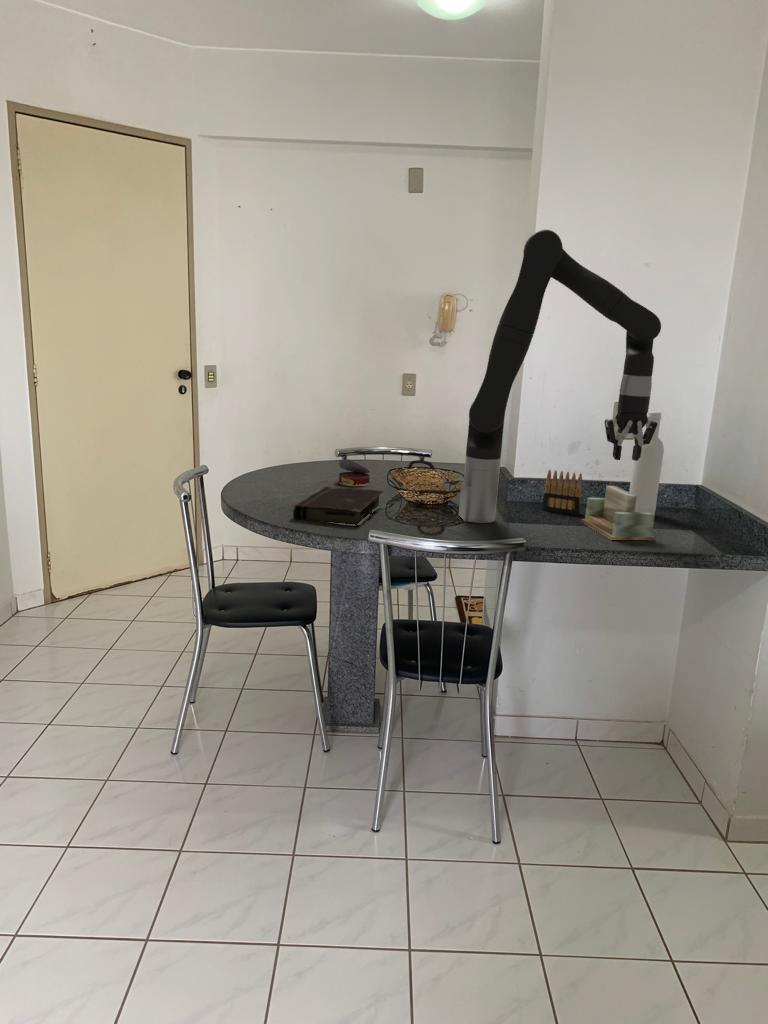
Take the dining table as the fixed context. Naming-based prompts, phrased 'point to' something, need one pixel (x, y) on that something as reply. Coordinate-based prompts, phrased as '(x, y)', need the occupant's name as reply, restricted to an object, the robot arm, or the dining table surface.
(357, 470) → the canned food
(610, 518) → the ash slat
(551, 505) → the ammunition clip
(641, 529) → the slat holder
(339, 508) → the diary
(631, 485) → the bottle
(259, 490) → the dining table surface
